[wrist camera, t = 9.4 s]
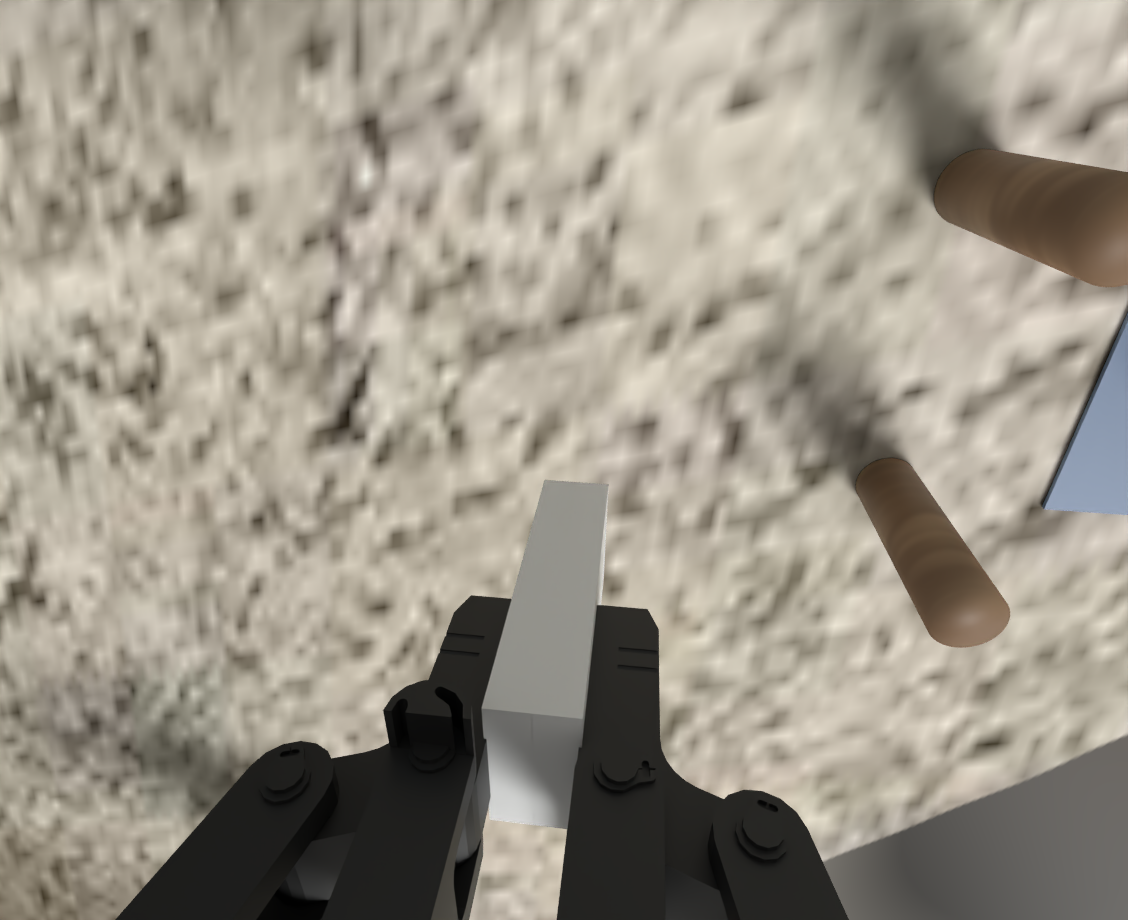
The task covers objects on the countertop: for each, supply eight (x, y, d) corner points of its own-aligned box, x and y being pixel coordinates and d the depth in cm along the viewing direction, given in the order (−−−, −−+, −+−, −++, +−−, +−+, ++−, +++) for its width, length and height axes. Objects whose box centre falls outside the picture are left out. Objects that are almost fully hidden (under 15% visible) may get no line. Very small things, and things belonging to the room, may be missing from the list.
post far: (863, 456, 30) (938, 586, 22) (923, 460, 29) (1021, 593, 22) (849, 504, 31) (917, 643, 23) (907, 508, 31) (995, 650, 23)
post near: (945, 148, 23) (1092, 175, 16) (1023, 149, 23) (1212, 178, 15) (925, 224, 25) (1051, 285, 17) (998, 226, 24) (1160, 289, 17)
